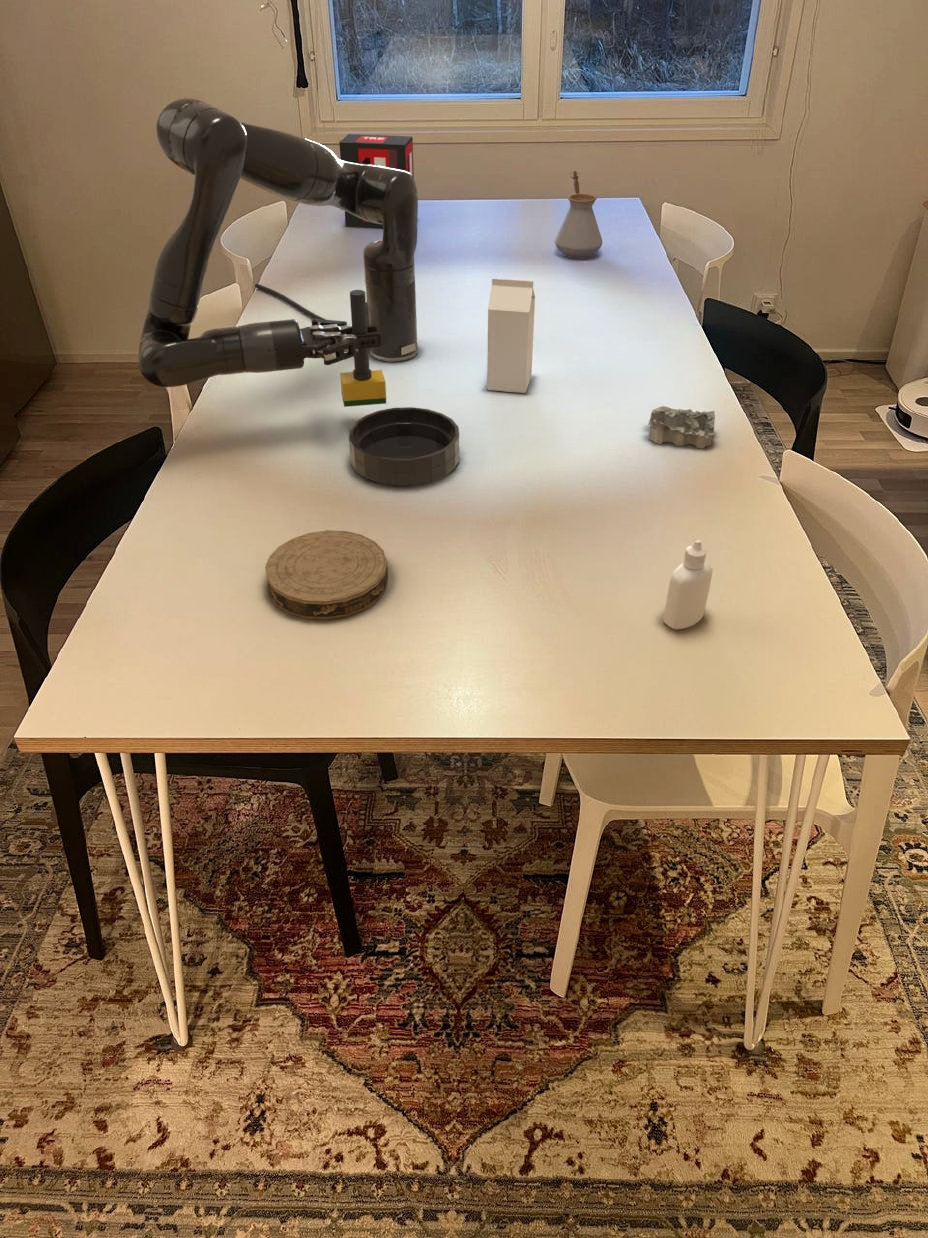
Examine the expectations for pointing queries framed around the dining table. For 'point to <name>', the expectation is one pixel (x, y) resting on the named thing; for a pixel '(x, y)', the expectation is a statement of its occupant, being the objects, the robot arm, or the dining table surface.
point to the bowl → (404, 446)
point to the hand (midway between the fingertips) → (378, 335)
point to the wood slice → (327, 574)
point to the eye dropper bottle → (688, 589)
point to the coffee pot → (579, 227)
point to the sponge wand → (361, 364)
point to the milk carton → (510, 335)
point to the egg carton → (681, 426)
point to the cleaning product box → (376, 160)
